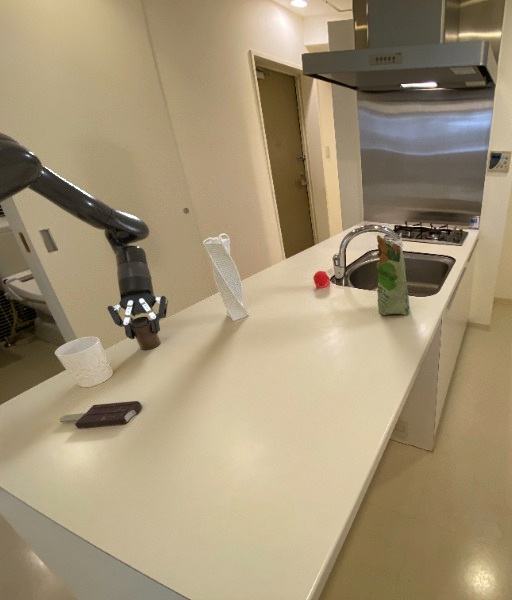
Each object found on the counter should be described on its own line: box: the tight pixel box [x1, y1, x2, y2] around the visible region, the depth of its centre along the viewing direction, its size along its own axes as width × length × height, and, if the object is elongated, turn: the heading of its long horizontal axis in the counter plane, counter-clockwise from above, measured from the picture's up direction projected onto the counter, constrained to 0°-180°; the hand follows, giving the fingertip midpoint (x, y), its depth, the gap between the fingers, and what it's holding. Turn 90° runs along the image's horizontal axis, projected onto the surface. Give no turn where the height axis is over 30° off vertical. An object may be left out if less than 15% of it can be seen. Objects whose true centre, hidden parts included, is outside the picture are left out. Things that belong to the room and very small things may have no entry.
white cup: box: [54, 335, 114, 388], centre depth 79 cm, size 8×8×10 cm
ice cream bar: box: [58, 400, 143, 430], centre depth 69 cm, size 5×2×15 cm
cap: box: [312, 270, 331, 290], centre depth 126 cm, size 8×6×6 cm
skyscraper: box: [202, 232, 250, 322], centre depth 101 cm, size 8×8×28 cm
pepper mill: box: [131, 316, 162, 351], centre depth 92 cm, size 5×5×8 cm
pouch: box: [376, 234, 411, 316], centre depth 103 cm, size 11×12×25 cm
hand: (144, 335), depth 90 cm, fingers closed on pepper mill, 5 cm apart
